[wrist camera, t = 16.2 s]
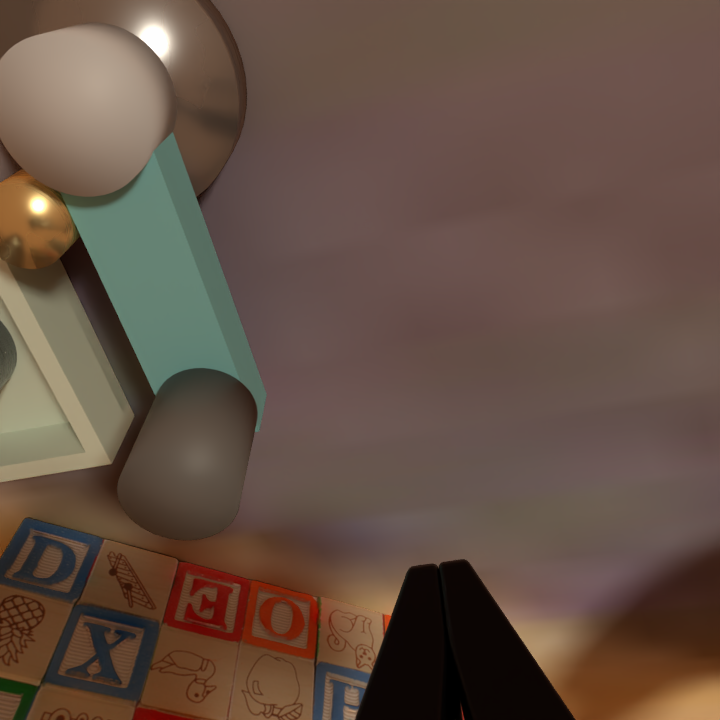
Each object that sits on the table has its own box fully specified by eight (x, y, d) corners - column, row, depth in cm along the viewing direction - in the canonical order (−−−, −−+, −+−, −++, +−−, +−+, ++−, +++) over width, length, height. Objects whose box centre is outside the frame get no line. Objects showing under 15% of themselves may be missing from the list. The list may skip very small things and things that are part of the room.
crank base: (273, 175, 18) (254, 225, 15) (65, 218, 19) (1, 276, 16) (204, -79, 15) (160, -88, 12) (-43, -18, 16) (-151, -10, 12)
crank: (13, 40, 15) (-132, 78, 10) (146, 7, 14) (54, 30, 10) (184, 421, 21) (137, 549, 16) (282, 402, 20) (262, 528, 16)
